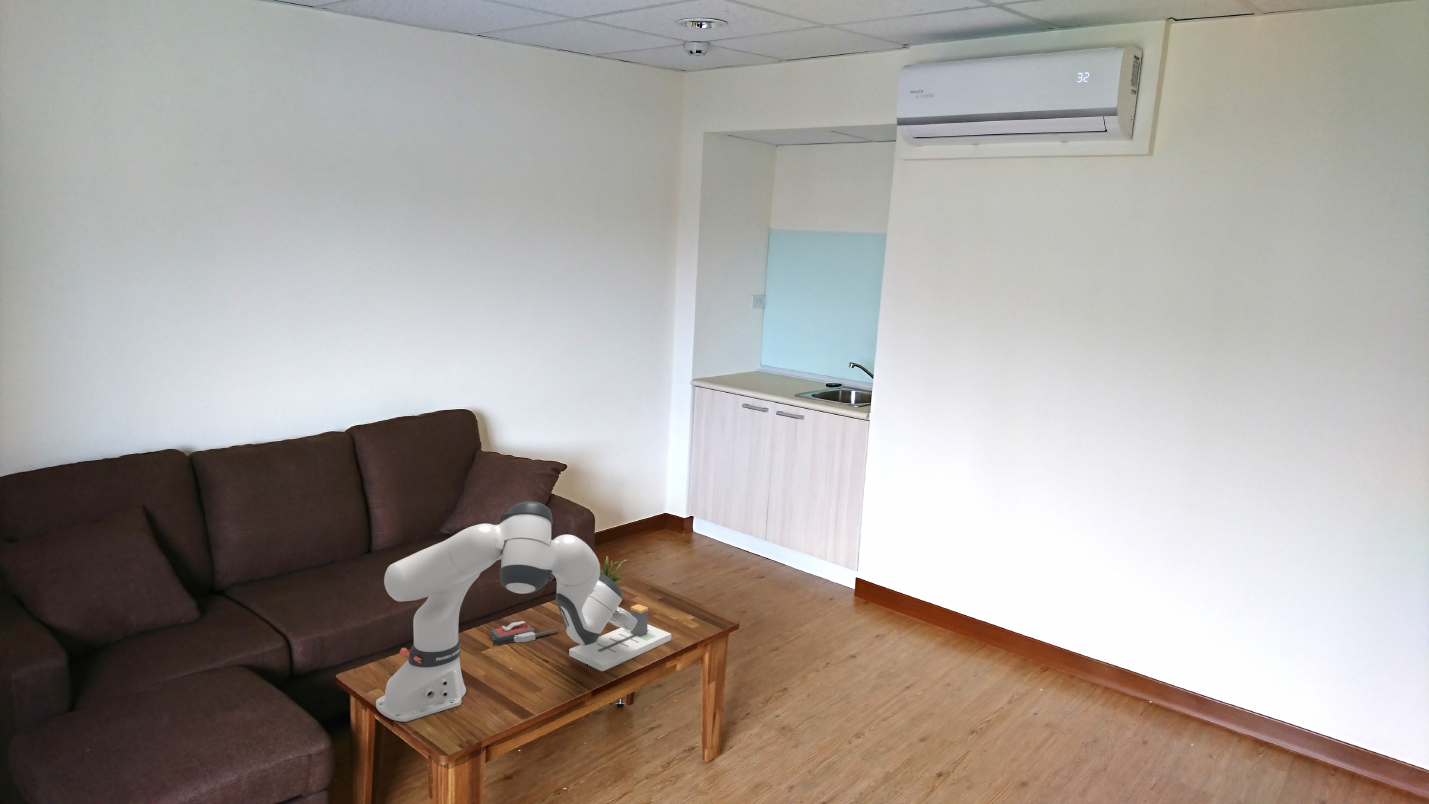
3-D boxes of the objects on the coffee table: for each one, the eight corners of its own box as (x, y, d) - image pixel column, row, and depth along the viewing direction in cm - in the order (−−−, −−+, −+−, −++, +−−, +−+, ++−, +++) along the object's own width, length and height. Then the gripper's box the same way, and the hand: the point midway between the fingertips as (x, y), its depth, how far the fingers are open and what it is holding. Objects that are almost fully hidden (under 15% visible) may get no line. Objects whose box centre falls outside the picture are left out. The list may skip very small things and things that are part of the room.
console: (602, 671, 253) (602, 664, 252) (569, 655, 262) (569, 648, 261) (671, 640, 274) (671, 633, 273) (638, 626, 283) (638, 620, 282)
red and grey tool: (496, 650, 264) (559, 635, 276) (496, 636, 264) (559, 621, 275) (485, 639, 272) (547, 625, 283) (485, 625, 271) (547, 611, 282)
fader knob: (640, 636, 270) (640, 610, 269) (630, 632, 273) (630, 606, 271) (647, 633, 273) (648, 607, 271) (637, 629, 275) (638, 603, 274)
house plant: (614, 593, 308) (615, 547, 305) (638, 606, 298) (639, 559, 295) (578, 603, 299) (578, 555, 296) (601, 617, 289) (601, 568, 286)
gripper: (627, 602, 253) (650, 625, 262) (577, 583, 266) (601, 604, 275) (615, 622, 250) (639, 644, 260) (565, 601, 263) (590, 623, 272)
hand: (619, 623), depth 267 cm, fingers closed
